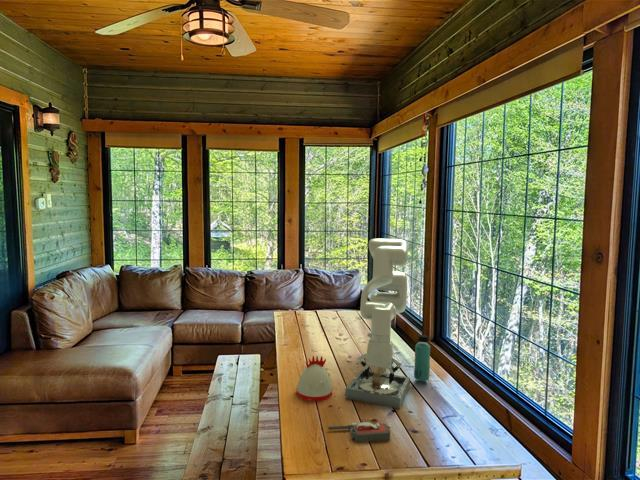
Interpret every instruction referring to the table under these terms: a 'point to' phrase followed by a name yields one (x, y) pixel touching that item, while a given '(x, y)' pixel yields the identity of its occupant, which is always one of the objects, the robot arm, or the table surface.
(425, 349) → the beverage bottle
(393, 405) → the dial housing
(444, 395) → the table surface
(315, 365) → the kitchen timer
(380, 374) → the dial
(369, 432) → the walkie-talkie
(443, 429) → the table surface
